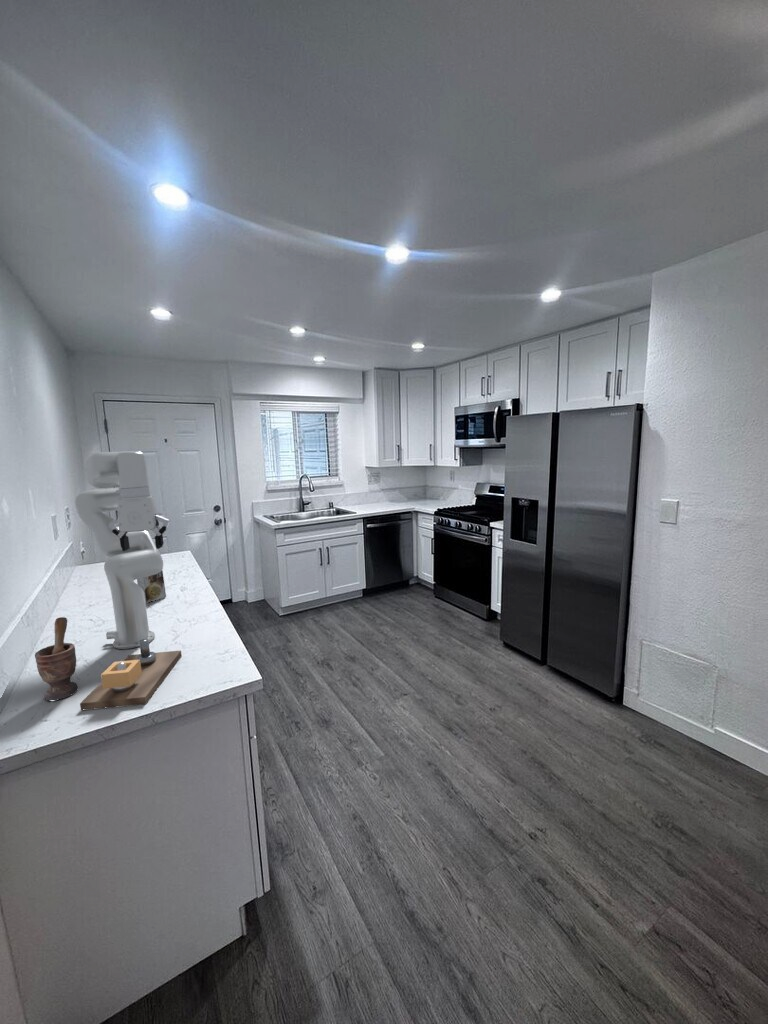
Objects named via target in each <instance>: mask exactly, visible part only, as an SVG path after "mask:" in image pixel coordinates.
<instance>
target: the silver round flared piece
mask: <svg viewBox="0 0 768 1024" xmlns="http://www.w3.org/2000/svg"><path fill="white" fill-rule="evenodd" d="M126 669H127V667H126V664H125V663H124V662H121V663H118V664H117V666H116V671H119V670H126ZM134 686H135V681H134V682H133V684H132V685H131V686H127V687H116V688H113V692H115V693H121V692H125V691H128V690H130V689H132V688H133V687H134Z"/></svg>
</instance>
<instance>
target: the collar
mask: <svg viewBox="0 0 768 1024" xmlns="http://www.w3.org/2000/svg"><path fill="white" fill-rule="evenodd" d="M121 662H124V663H125V664H126V667H127V669H126V670H119V671H116V666H117V664H118V663H121ZM141 673H142V670H141V663H140V660H130V661H123V660H120V661H114V662H113V663H112V664H110V665H109V666H108V667H107V669H105V670H104V671H103V672H102V673H101V674H100V677H101V682H102V685H103V689H106V688H116V687H127V686H131V685H132V684H133V682H134V681H135V680H136V679H137V678H138V677H139V676H140V674H141Z"/></svg>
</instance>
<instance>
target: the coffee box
mask: <svg viewBox="0 0 768 1024" xmlns="http://www.w3.org/2000/svg"><path fill="white" fill-rule="evenodd" d="M163 571H164V570H163V569H162V571H161V572H159V573H158V574H155V575H151V576H147V577H143V578H139V579H136V582H137V583H136V584H138V585H139V586H140V587H141V588H142V589H143V591H144V597H145V604H146V603H147V604H149V603H148V602H150V603H152V602H151V601H153V602H156V601H159V599H160V600H162V598H163V599H165V597H166V598H167V593H166V586H165V578H164V572H163ZM155 600H156V601H155Z"/></svg>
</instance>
